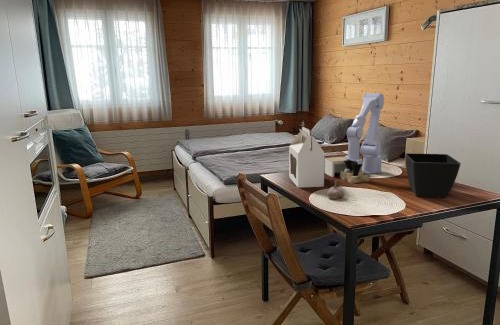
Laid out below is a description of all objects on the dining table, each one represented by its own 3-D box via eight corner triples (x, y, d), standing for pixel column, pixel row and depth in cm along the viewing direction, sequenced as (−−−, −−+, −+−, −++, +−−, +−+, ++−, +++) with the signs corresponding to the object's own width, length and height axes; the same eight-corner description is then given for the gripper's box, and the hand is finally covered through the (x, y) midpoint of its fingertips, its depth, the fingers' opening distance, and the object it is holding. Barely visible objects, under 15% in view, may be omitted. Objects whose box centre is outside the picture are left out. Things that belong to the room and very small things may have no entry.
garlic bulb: (343, 195, 173) (343, 178, 171) (344, 200, 166) (345, 183, 164) (326, 195, 174) (326, 178, 173) (326, 200, 167) (327, 182, 166)
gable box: (289, 176, 208) (289, 126, 203) (312, 175, 210) (313, 125, 204) (297, 188, 187) (298, 131, 181) (324, 186, 188) (325, 130, 182)
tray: (360, 176, 206) (360, 167, 205) (370, 181, 196) (371, 171, 195) (339, 178, 204) (340, 168, 202) (349, 183, 193) (349, 173, 192)
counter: (353, 170, 220) (353, 155, 218) (362, 174, 210) (362, 159, 208) (324, 172, 215) (324, 158, 214) (332, 177, 206) (332, 161, 204)
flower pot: (457, 200, 163) (461, 162, 159) (411, 199, 166) (413, 161, 163) (444, 188, 181) (447, 153, 177) (402, 187, 184) (404, 153, 181)
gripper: (340, 147, 205) (339, 172, 208) (353, 152, 191) (352, 178, 194) (352, 147, 207) (351, 171, 209) (366, 151, 193) (365, 177, 196)
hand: (352, 174), depth 202 cm, fingers closed on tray, 5 cm apart
